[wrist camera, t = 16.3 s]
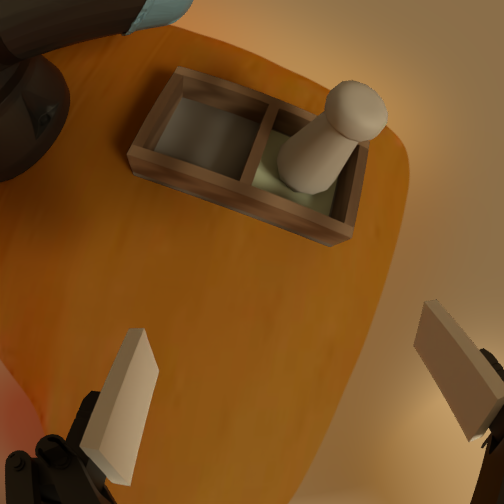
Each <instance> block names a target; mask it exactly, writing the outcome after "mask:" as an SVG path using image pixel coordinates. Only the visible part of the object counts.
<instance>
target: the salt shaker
mask: <svg viewBox="0 0 504 504" xmlns="http://www.w3.org/2000/svg"><path fill="white" fill-rule="evenodd" d="M324 110H325V111H324V112H323V113H321V114H320V115H319V116H317V117H316V118H315V119H314V120H312V121H311V122H310V123H309V124H307V125H306V126H305V127H303V128H302V129H301V130H300V131H298V132H297V133H296V134H295V135H293V136H292V137H291V138H289V139H288V140H287V141H286V142H285V143H283V144H282V145H281V146H280V150H279V153H278V157H277V160H276V161H277V166H278V171H279V176H280V180H282V181H283V182H284V183H285V184H286V185H287V186H288V187H289V188H290V189H291V190H292V191H293V192H299V193H305V194H311V195H313V194H316V193H319V192H323V191H325V190H327V189H328V188H329V187H330V186H331V185H332V183H333V182H334V181H335V180H336V178H337V176H338V175H339V173H340V171H341V170H342V168H343V166H344V165H345V163H346V161H347V160H348V158H349V157H350V155H351V153H352V152H353V150H354V148H355V147H356V145H357V144H358V142H362V141H367V140H371V139H373V138H375V137H376V136H377V135H378V134H379V133H380V132H381V130H382V129H383V128H384V127H385V125H386V124H387V117H388V112H387V109H386V107H385V104H384V102H383V100H382V98H381V97H380V96H379V95H378V94H377V92H376V91H375V90H373V89H372V88H370V87H369V86H367V85H366V84H363V83H360V82H357V81H353V80H352V81H342V82H341V83H340V84H338V85H337V86H336V87H335V88H333V89H332V90H331V91H330V92H329V94H328V96H327V99H326V103H325V109H324Z"/></svg>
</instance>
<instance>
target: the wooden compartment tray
mask: <svg viewBox="0 0 504 504" xmlns="http://www.w3.org/2000/svg"><path fill="white" fill-rule="evenodd" d="M316 117H317V115H314V114H312V113H310V112H308V111H305V110H303V109H301V108H298V107H296V106H294V105H291V104H289V103H286V102H284V101H281V100H279V99H276V98H274V97H271V96H269V95H266V94H264V93H261V92H258V91H256V90H253V89H250V88H247V87H244V86H242V85H239V84H236V83H233V82H230V81H227V80H224V79H221V78H218V77H215V76H211V75H208V74H205V73H201V72H198V71H195V70H191V69H188V68H184V67H180V66H178V67H177V69H176V70H175V72H174V73H173V75H172V76H171V78H170V79H169V81H168V83H167V84H166V86H165V87H164V89H163V91H162V92H161V94H160V95H159V97H158V99H157V100H156V102H155V104H154V105H153V107H152V109H151V110H150V112H149V114H148V116H147V117H146V119H145V121H144V123H143V124H142V126H141V128H140V130H139V132H138V134H137V135H136V137H135V139H134V141H133V143H132V145H131V147H130V149H129V150H128V152H127V154H126V155H127V157H128V160H129V163H130V166H131V169H132V172H133V175H135V176H138V177H141V178H144V179H147V180H149V181H152V182H155V183H158V184H161V185H164V186H167V187H170V188H173V189H175V190H178V191H181V192H184V193H187V194H190V195H192V196H195V197H198V198H201V199H204V200H206V201H209V202H212V203H215V204H217V205H220V206H223V207H226V208H228V209H231V210H234V211H237V212H239V213H242V214H245V215H247V216H250V217H253V218H255V219H258V220H261V221H263V222H266V223H269V224H271V225H274V226H277V227H279V228H282V229H285V230H287V231H290V232H292V233H295V234H298V235H300V236H303V237H305V238H308V239H310V240H313V241H316V242H318V243H321V244H323V245H326V246H328V247H331V246H334V245H336V244H339V243H341V242H344V241H346V240H348V239H351V238H352V235H353V230H354V225H355V221H356V216H357V211H358V206H359V201H360V196H361V190H362V185H363V179H364V174H365V168H366V162H367V156H368V149H369V143H370V141H368V140H367V141H362V142H358V144H357V145H356V147H355V148H354V150H353V152H352V153H351V155H350V157H349V158H348V160H347V161H346V163H345V165H344V166H343V168H342V170H341V171H340V173H339V175H338V176H337V178H336V180H335V181H334V182H333V183H332V185H331V186H330V187H329V188H328V189H327V190H325V191H323V192H319V193H316V194H313V195H311V194H305V193H299V192H293V191H292V190H291V189H290V188H289V187H288V186H287V185H286V184H285V183H284V182H283V181H282V180H280V176H279V171H278V166H277V161H276V160H277V157H278V153H279V150H280V146H281V145H282V144H283V143H285V142H286V141H287V140H288V139H289V138H291V137H292V136H293V135H295V134H296V133H297V132H298V131H300V130H301V129H302V128H303V127H305V126H306V125H307V124H309V123H310V122H311V121H312V120H314V119H315V118H316Z"/></svg>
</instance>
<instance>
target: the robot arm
mask: <svg viewBox="0 0 504 504" xmlns="http://www.w3.org/2000/svg"><path fill="white" fill-rule="evenodd" d="M192 2H193V0H0V182H3V181H6V180H9V179H12V178H14V177H16V176H18V175H19V174H21V173H23V172H24V171H26V170H27V169H29V168H30V167H31V166H32V165H34V164H35V163H36V162H37V161H38V160H39V159H40V158H41V157H42V156H43V155H44V154H45V153H46V152H47V150H48V149H49V148H50V147H51V145H52V144H53V143H54V141H55V140H56V138H57V137H58V135H59V133H60V132H61V130H62V128H63V125H64V123H65V121H66V118H67V115H68V111H69V106H70V93H69V89H68V86H67V84H66V82H65V79H64V77H63V75H62V73H61V72H60V70H59V69H58V68H57V67H56V66H55V65H53V64H52V63H51V62H50V61H49V60H47V59H46V58H45V57H44V56H42V55H41V54H43V53H46V52H49V51H53V50H56V49H59V48H62V47H66V46H69V45H73V44H77V43H80V42H84V41H88V40H93V39H97V38H101V37H106V36H111V35H116V34H121V35H122V36H126V35H129V34H131V33H133V32H134V31H138V30H143V29H149V28H155V27H161V26H166V25H169V24H172V23H174V22H176V21H177V20H178V19H179V18H181V17H182V16H183V15H184V14H185V13H186V12H187V10H188V9H189V8H190V6H191V4H192ZM414 347H415V349H416V351H417V352H418V354H419V355H420V357H421V358H422V360H423V362H424V364H425V365H426V367H427V368H428V370H429V372H430V373H431V375H432V377H433V378H434V380H435V382H436V383H437V385H438V387H439V389H440V390H441V392H442V394H443V396H444V397H445V399H446V401H447V403H448V404H449V406H450V408H451V410H452V412H453V413H454V415H455V417H456V418H457V421H458V423H459V424H460V426H461V428H462V430H463V432H464V434H465V436H466V438H467V439H468V442H471V441H473V440H475V439H478V438H480V437H482V436H483V435H484V433H485V432H486V430H487V429H488V428H489V429H490V431H491V434H490V435H489V436H488V438H487V439H486V440H485V442H484V443H483V444H482V447H481V448H484V446H485V445H486V444H487V447H486V451H485V455H484V459H483V463H482V467H481V470H480V474H479V478H478V481H477V484H476V487H475V491H474V494H473V497H472V500H471V503H470V504H504V370H503V367H502V366H501V364H499V363H498V361H497V359H496V358H495V357H494V356H493V354H491V353H490V352H488V351H487V350H485V349H484V348H483V349H480V350H479V349H478V348H477V347H476V345H475V344H474V343H473V342H472V340H471V339H470V338H469V337H468V336H467V334H466V333H465V332H464V331H463V329H462V328H461V327H460V326H459V325H458V323H457V322H456V321H455V320H454V319H453V318H452V316H451V315H450V314H449V313H448V312H447V311H446V310H445V308H444V307H443V306H442V305H441V304H440V303H439V301H438V300H431V301H425V302H424V305H423V310H422V314H421V318H420V322H419V326H418V330H417V334H416V338H415V341H414ZM158 373H159V370H158V367H157V364H156V361H155V359H154V356H153V353H152V350H151V347H150V344H149V341H148V338H147V335H146V332H145V329H144V328H132V329H129V330H128V332H127V334H126V336H125V339H124V341H123V343H122V345H121V347H120V349H119V352H118V354H117V356H116V358H115V361H114V363H113V365H112V367H111V370H110V372H109V374H108V376H107V379H106V381H105V383H104V386H103V388H102V390H101V392H98V391H91V392H90V393H89V394H88V395H87V396H86V397H85V398H84V399H83V401H82V403H81V406H80V408H79V411H78V412H77V415H76V419H74V422H73V424H72V426H71V429H70V431H69V433H68V436H67V438H66V441H65V440H64V439H63V438H62V437H60V436H59V435H54V434H51V435H47V436H45V437H43V438H41V439H40V441H39V442H38V443H37V446H36V449H35V452H36V456H37V457H38V458H31V457H30V456H29V455H28V454H27V453H26V452H24V451H20V450H19V451H15V452H12V453H11V454H10V455H9V456H8V458H7V459H6V464H5V485H6V504H117V503H116V501H115V500H114V498H113V496H112V495H111V493H110V491H109V490H108V488H107V486H106V485H105V484H104V483H105V479H106V477H107V478H108V479H109V480H110V481H111V482H112V483H116V484H122V485H128V486H130V484H131V479H132V475H133V470H134V466H135V462H136V458H137V453H138V449H139V445H140V441H141V437H142V433H143V429H144V425H145V421H146V417H147V414H148V410H149V406H150V402H151V399H152V395H153V391H154V388H155V384H156V380H157V377H158Z"/></svg>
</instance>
